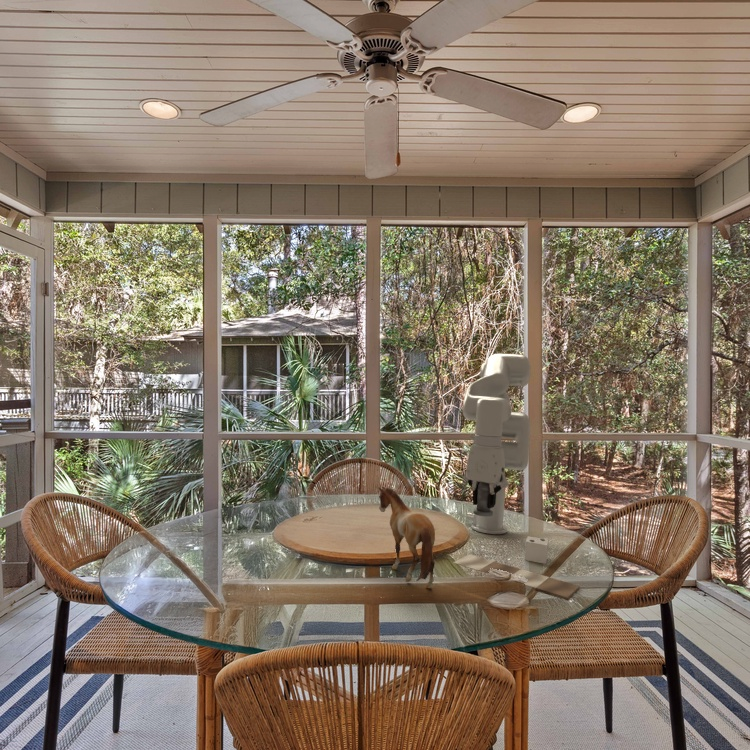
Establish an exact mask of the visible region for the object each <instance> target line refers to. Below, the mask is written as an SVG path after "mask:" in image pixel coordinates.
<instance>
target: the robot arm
mask: <svg viewBox="0 0 750 750" xmlns="http://www.w3.org/2000/svg"><path fill="white" fill-rule="evenodd" d="M479 372H480V373H479V375H480V378H479V379H477V380H475V381H473V382H471V384H469V385H468V387H467V388H466V390H465V394H464V398H463V401H462V408H461V409H462V411H461V412H462V415H463V416H464V418H465V419H467V420H469V421H473V422H474V421H475V424H474V425H475V426H474V427H475V428H474V435H470V440H471V441H473V444H471V446H470V447H469V448H470V449H469V452H468V456H467V463H466V471H465V473H464V475H463V476H462V478H463V479H464V480H465V481H466V482H467V484H468V485H469V486H470V489H471V491H472V501H473V502H472V505H474V506H477V494H478V485H479V483H480V482H484V483H489V486H490V494H488V503H487V507H488V508H490V510H492V511H493V516H489V517H485V516H478V515H475V514H474V513H473V512H466V516H465V517H466V519H467V520H471V521H472V522H471V524H470V527H471V529H472V530H474V531H476V532H479V533H484V534H487V535H488V534H489V535H503V534H506V533H507V532H508V526H506V525H504V518H505V517H504V516H505V515H504V514H505V499H506V488H507V487H509V485H510V484H509V482H508V479H507V477H506V473H505V471H506V470H515V471H523V470H525V469H526V468H527V467H528V463H529V458H530V457H529V455H530V440H531V439H530V437H531V434H530V433H531V423H530V422H531V421H530V418H529V416H528V415H527V414H526V413H524V412H516V411H512V408H513V407H512V404H511V399H510V396H509V393H507V391H508V389H509V386H511V387H525V386H527V385H528V384H529V382H530V379H531V362H530V359H529V358H528V357H527V356H526V355H523V354H515V353H514V354H513V353H494V354H492V355H490V356H488V357H487V359H486V361H484V362H483V363H482V364H481V365H480V369H479ZM502 439H512V440H515V441H516V442H515V441H514V442H513V441H505V440H503V441H502Z"/></svg>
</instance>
